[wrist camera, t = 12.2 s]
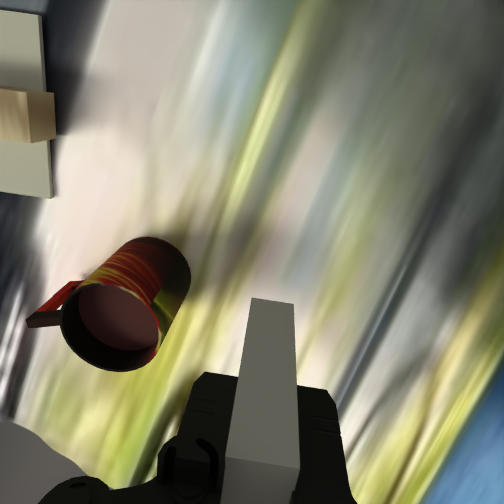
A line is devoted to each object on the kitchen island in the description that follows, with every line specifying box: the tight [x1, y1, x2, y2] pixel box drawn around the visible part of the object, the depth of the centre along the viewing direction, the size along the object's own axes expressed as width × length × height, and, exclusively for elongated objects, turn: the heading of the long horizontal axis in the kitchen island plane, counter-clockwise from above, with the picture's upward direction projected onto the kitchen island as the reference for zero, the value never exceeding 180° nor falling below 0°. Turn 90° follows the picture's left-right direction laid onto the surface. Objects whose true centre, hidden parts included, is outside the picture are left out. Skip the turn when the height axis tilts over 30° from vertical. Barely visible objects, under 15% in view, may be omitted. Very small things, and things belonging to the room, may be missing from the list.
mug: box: [26, 237, 191, 372], centre depth 42 cm, size 10×14×12 cm
